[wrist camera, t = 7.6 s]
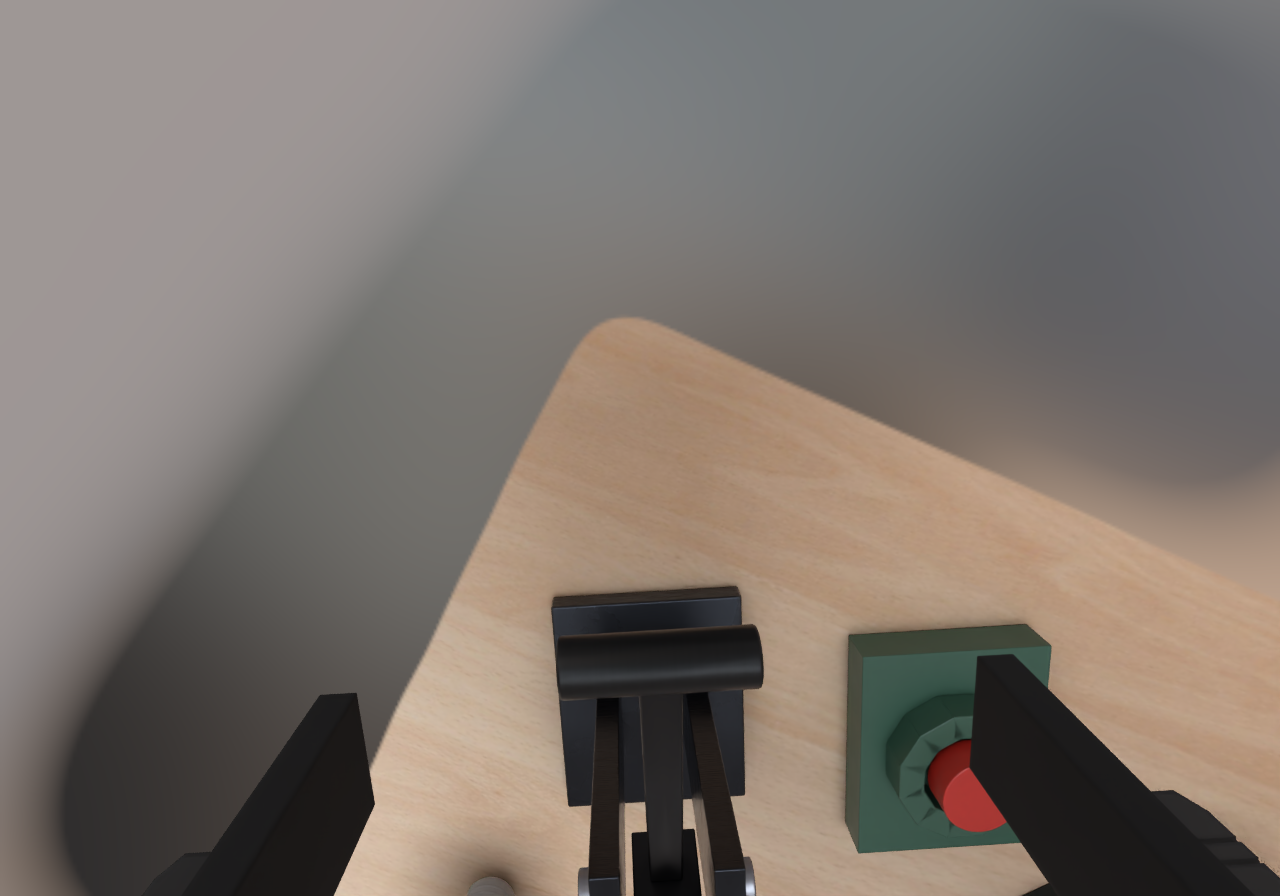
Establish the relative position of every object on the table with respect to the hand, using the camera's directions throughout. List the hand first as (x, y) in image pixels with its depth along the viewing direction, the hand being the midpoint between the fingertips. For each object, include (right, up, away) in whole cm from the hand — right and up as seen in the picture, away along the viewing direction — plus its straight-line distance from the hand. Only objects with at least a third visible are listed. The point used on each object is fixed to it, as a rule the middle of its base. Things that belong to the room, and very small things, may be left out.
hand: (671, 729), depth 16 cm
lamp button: (+15, -9, +19) cm, 26 cm away
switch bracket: (0, -6, +22) cm, 22 cm away
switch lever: (0, -4, +8) cm, 8 cm away
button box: (+14, -8, +22) cm, 28 cm away
